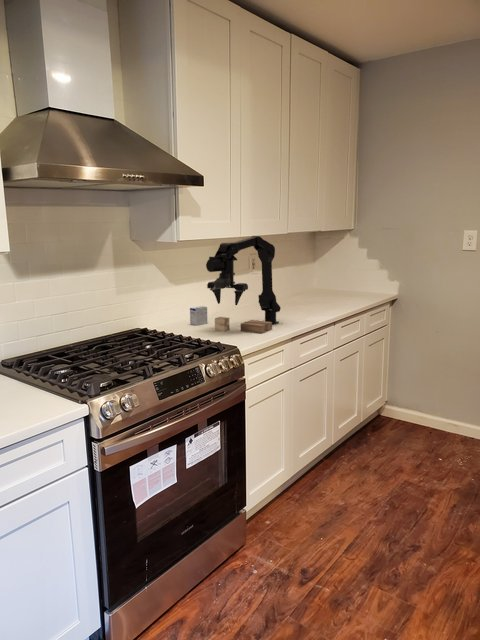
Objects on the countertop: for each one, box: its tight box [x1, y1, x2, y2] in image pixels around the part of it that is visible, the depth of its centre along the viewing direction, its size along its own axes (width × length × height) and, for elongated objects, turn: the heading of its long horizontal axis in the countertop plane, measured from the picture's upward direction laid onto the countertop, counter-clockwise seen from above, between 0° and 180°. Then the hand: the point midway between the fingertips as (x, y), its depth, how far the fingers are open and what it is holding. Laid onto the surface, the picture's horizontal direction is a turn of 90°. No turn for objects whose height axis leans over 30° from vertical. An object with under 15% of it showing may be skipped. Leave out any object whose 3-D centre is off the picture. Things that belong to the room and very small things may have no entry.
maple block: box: [214, 316, 230, 333], centre depth 240 cm, size 5×5×6 cm
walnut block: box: [239, 319, 273, 335], centre depth 241 cm, size 11×11×4 cm
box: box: [189, 305, 209, 327], centre depth 255 cm, size 8×4×9 cm, turn 136°
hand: (227, 304), depth 236 cm, fingers open, 9 cm apart
